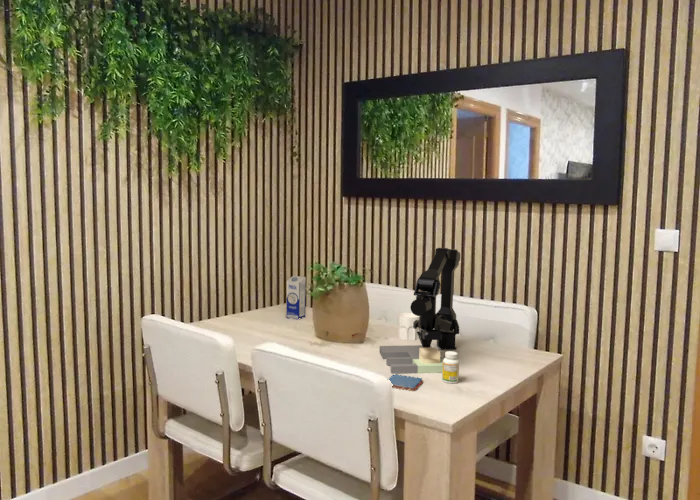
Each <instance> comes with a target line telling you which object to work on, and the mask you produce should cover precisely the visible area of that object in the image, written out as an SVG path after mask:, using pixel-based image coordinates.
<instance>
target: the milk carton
mask: <svg viewBox="0 0 700 500" xmlns="http://www.w3.org/2000/svg"><path fill="white" fill-rule="evenodd" d="M306 278H307V277H306V276H299V275H298V276H297V275H292V276H291V277H289V278H288V279H287V280H286V319H290V318H296V319H295V320H298V319H299V318H301V319H303V318H302V317H304V318H306V293H307V292H306V291H307V289H306V284H307V283H306V282H307V281H306ZM299 320H300V319H299Z"/></svg>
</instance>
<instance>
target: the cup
mask: <svg viewBox="0 0 700 500" xmlns="http://www.w3.org/2000/svg"><path fill="white" fill-rule="evenodd" d="M396 315H397V330H398V338H399V339H400V340H406V341H415V340H418V339H419V337H418V334H417V332H419V328H418V327H417V328H416V329H414V328H413V322H414V321H415V320H419V316H416V315H414V314H413V313H412V312H399V313H397V314H396ZM419 340H420V339H419Z"/></svg>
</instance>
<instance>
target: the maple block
mask: <svg viewBox="0 0 700 500" xmlns="http://www.w3.org/2000/svg"><path fill="white" fill-rule="evenodd" d="M440 356H441V351H440V350H439V348H437V346H436V347H434V346H433V347H432V346H431V347H429V348H419V359H420V360H421V361H422V363H423V364H428V363H440Z"/></svg>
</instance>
